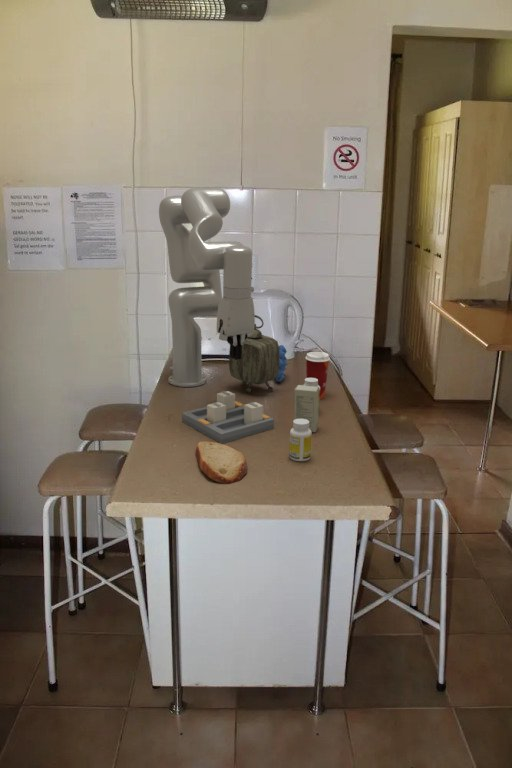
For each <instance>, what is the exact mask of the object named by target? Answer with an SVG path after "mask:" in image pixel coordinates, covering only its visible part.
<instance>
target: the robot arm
mask: <svg viewBox="0 0 512 768" xmlns="http://www.w3.org/2000/svg"><path fill="white" fill-rule="evenodd" d="M230 199H231V198H230V197H229V194H228V193H227V191H225V189H223V188H220V187H193V188H189V189H187V190H186V191H184V192H183V193H182V195H171V196H166V197H164V198H163V199H162V200H161V201H160V203H159V206H158V207H159V208H158V217H159V218H158V219H159V221H160V226H161V228H162V231H163V234H164V237H165V239H166V245H167V255H168V265H169V272H170V277H171V279H172V281H173V282H174V283H177V284H194V283H203V286H187V287H180V288H176V289H174V290H172V291H171V292H170V293H169V295H168V307H169V312H170V319H171V335H172V337H171V339H172V342H171V343H172V344H171V345H172V365H171V366H169V370H170V371H172V374H171V375H170V376H169V377H168V378H167V379H168V380H167V381H168V383H169V384H171V385H172V386H175V387H181V388H182V387H183V388H189V387H190V388H191V387H192V388H193V387H199V386H202V385H204V384H205V383H206V382H207V377H206V376H205V375H204V374H202V371H203V370H202V329H201V327H200V325H199V324H198V322H196V321H195V318H196V317H205V316H215V315H217V316H216V332H217V333H218V334H219V336H218V340H221V341H224V342H227V344H229V352H230V357H231V358H233V359H235V360H238V359H241V355H242V345H243V344H244V341H245V340H246V338H247V337H249V336H251V335H253V330H254V325H255V324H256V321H255V320H256V317H255V315H256V313H255V305H254V304H255V303H254V298H253V297H252V293H253V292H254V291H255V288H254V287H253V286H252V275H253V251H252V249H251V247H249V246H246V245H244V244H243V243H242V242H240V241H232V240H231V241H229V240H228V241H208V240H211V239H212V238H214V237H216V236H217V235H218V234H219V233H220V231H221V230H222V228H223V218H225V217H226V216H227V215H228V214H229V212H230V210H231V200H230ZM183 224H190V225H191V226H192V228H191V230H190V231H189V230H188V228H186V226H185V225H183ZM220 270H223V273H222V275H223V276H222V278H223V279H222V280H223V281H222V282H223V283H221V271H220ZM222 286H223V287H222ZM222 289H223V290H222Z"/></svg>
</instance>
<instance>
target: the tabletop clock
mask: <svg viewBox="0 0 512 768" xmlns="http://www.w3.org/2000/svg"><path fill="white" fill-rule="evenodd" d="M255 319H259V320H260V322H261V325H259V326H257V324H256V323H255V325H254V330H253V335H251V336H249V337H247V338H246V340H245V341H244V344H243V345H242V355H241V359H238V360H235V359H233V358H231V357H230V351H229V352H228V353H229V354H228V355H229V356H228V357H229V358H228V363H229V364H228V367H229V374H230V377H232V378H234V379H236V380H239V381H242V385H243V386H246V385H247V384H248V387H247V388H246V389H245V390H246V392H247V393H248V392H249V393H251V392H252V388H251V386H252V385H265V386H266V387H267V388H268V390H267V391H268V392H270V393H271V392H273V391H274V387H272V386H270V384H269V382H271V381H273V380H276V379H275V378H276V377H277V375H278V371H279V363H280V353H279V346H280V345H279V342H278V340H277V339H275V338H273V337H270V336H268V335H264V334H263V333H262V331H261V330H260V329H261V328H263V327H264V320H263V319H262V317H261V316H259V315H256V314H255Z"/></svg>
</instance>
